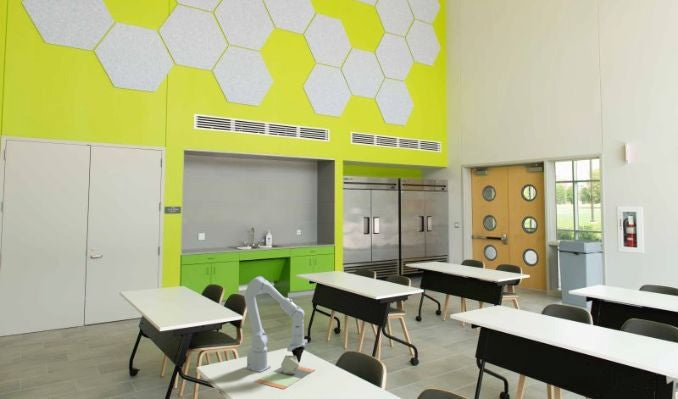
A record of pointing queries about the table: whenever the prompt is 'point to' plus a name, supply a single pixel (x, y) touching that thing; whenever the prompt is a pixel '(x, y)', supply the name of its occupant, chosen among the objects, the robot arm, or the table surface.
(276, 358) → the table surface
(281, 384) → the mat
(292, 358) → the die
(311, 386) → the table surface
